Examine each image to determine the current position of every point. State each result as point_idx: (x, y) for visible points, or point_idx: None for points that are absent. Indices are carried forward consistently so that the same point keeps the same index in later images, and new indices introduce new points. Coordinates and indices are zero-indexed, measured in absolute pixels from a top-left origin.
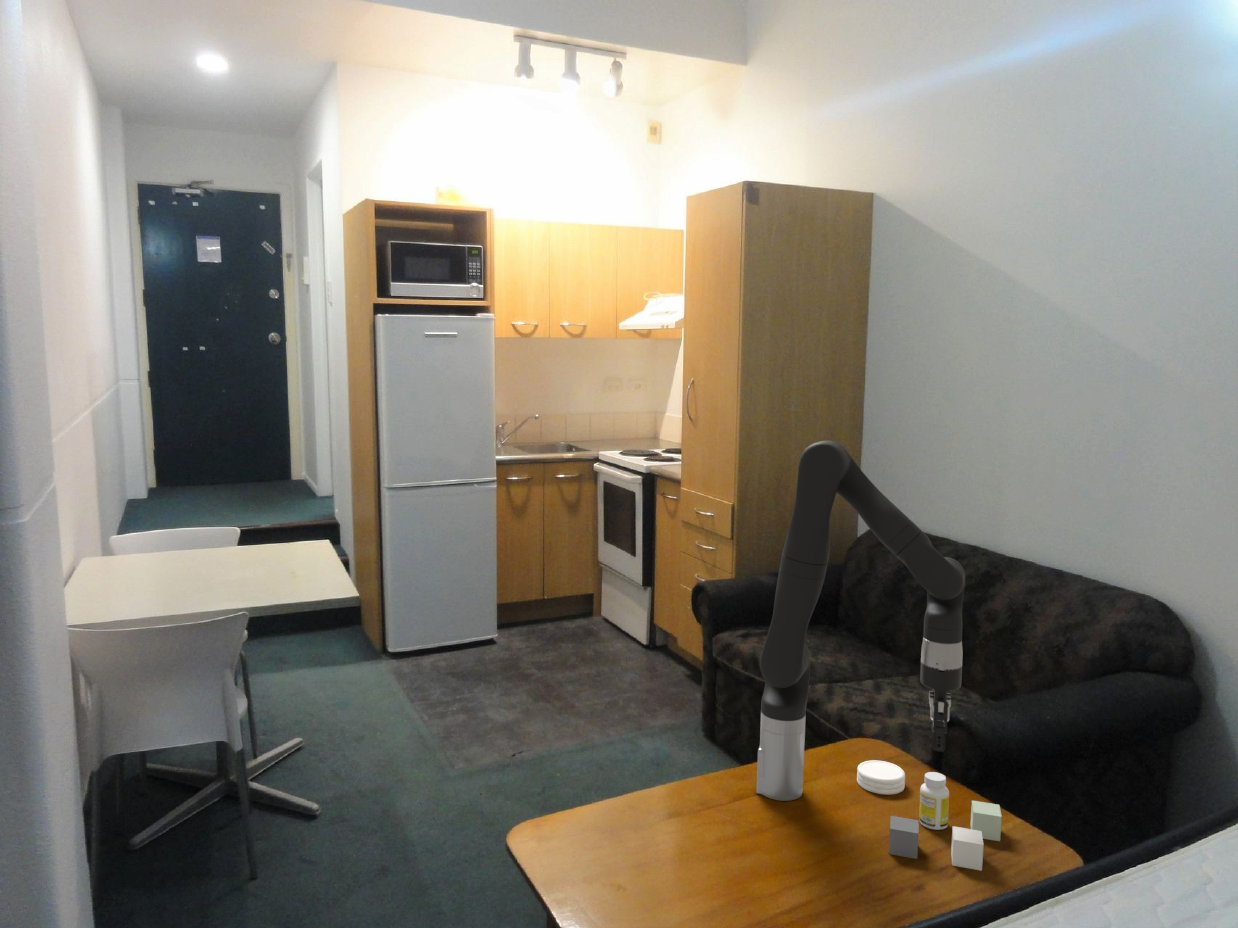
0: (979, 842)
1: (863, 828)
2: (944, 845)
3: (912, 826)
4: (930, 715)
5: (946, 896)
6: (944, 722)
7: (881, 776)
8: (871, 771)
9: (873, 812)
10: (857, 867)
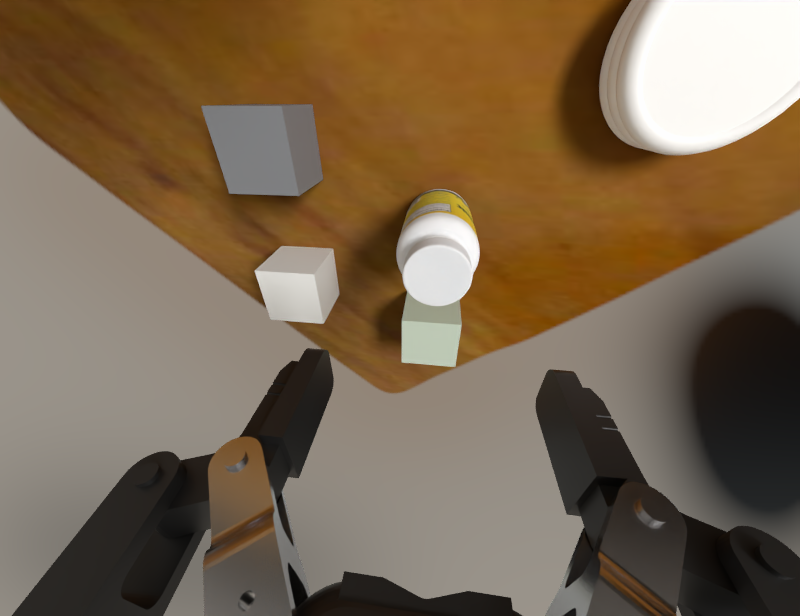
0: (274, 314)
1: (341, 5)
2: (349, 237)
3: (255, 177)
4: (213, 568)
5: (172, 228)
6: (155, 579)
7: (667, 50)
8: None
9: (460, 37)
10: (123, 7)
